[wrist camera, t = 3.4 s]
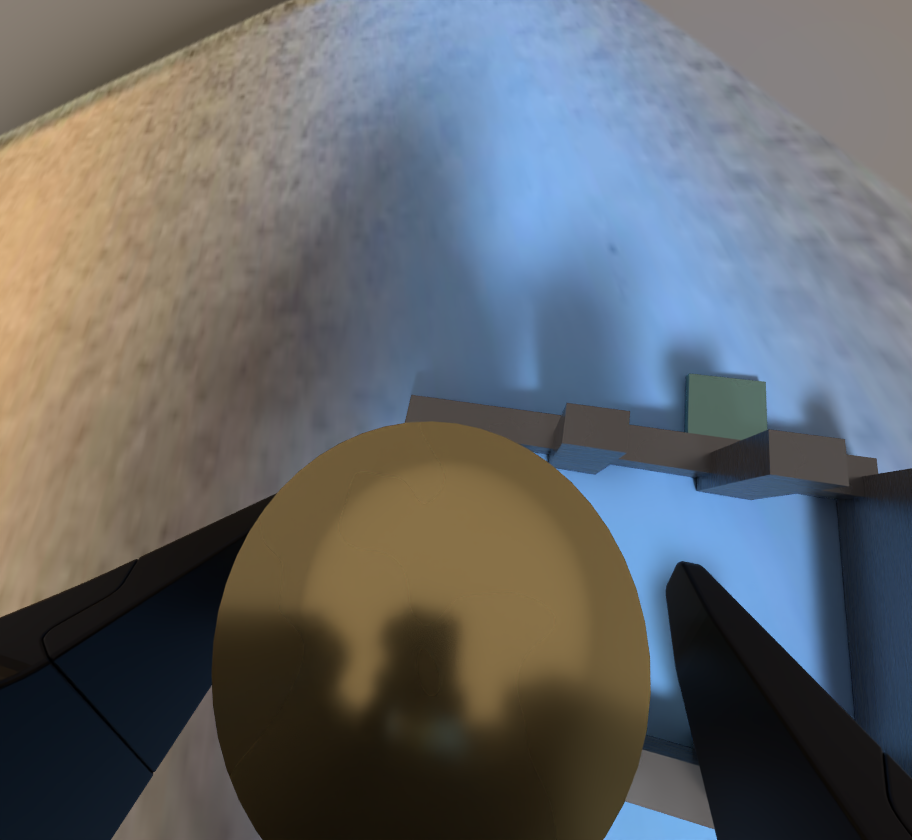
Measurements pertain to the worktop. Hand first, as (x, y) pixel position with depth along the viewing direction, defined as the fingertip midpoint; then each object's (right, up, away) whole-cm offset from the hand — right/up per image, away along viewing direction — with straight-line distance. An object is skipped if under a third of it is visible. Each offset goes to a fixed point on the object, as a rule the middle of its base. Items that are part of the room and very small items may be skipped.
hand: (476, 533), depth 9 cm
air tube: (+1, -3, +7) cm, 7 cm away
